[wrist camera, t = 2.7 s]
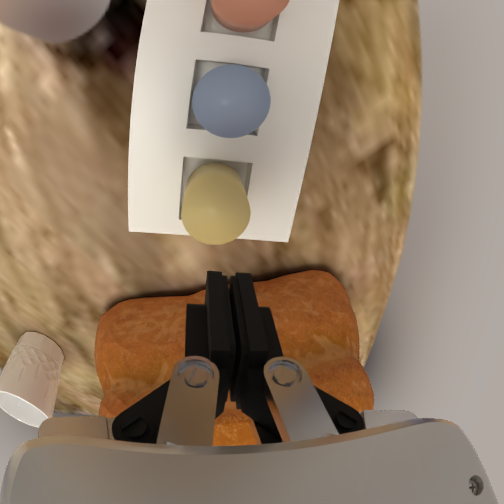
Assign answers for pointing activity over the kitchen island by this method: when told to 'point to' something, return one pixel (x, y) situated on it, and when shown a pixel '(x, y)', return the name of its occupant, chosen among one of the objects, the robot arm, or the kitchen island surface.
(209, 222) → the mustard button
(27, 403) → the white cup
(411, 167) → the kitchen island surface
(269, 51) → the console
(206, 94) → the slate button
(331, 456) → the robot arm
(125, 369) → the bread
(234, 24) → the rust button
